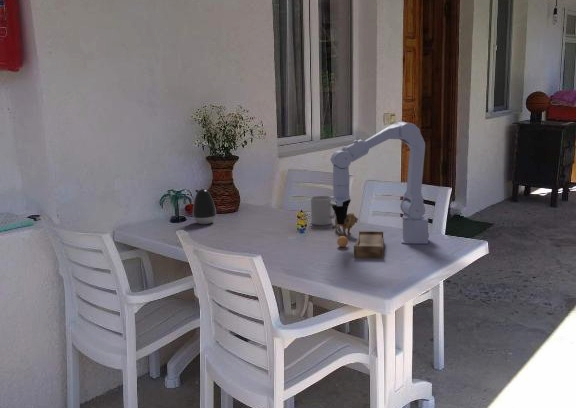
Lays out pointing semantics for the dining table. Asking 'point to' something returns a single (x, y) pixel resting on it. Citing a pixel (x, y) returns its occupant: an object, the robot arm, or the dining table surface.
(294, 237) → the dining table surface
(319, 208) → the mug
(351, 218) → the lion figurine
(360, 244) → the wooden shadow box
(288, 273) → the dining table surface
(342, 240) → the ball
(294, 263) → the dining table surface
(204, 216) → the dark egg-shaped device
